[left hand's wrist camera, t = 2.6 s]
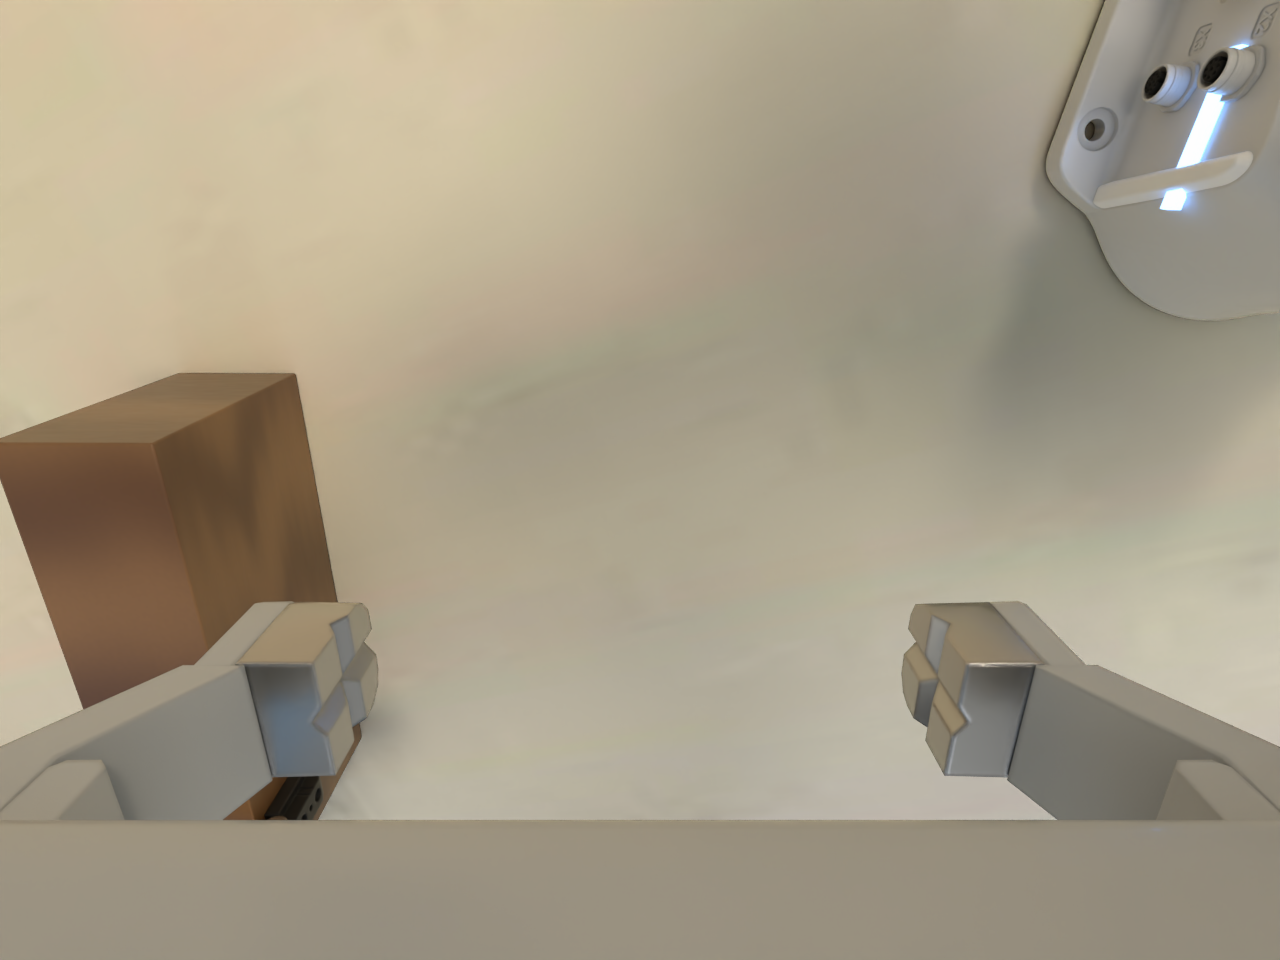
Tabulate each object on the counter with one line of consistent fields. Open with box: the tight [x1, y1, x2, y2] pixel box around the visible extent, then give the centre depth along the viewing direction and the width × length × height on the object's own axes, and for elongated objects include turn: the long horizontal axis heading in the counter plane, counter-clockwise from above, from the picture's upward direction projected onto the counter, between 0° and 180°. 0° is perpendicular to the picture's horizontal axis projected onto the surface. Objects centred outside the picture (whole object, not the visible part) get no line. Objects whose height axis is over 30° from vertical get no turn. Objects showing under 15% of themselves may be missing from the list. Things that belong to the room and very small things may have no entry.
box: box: [0, 373, 361, 820], centre depth 34 cm, size 23×6×11 cm, turn 0°
